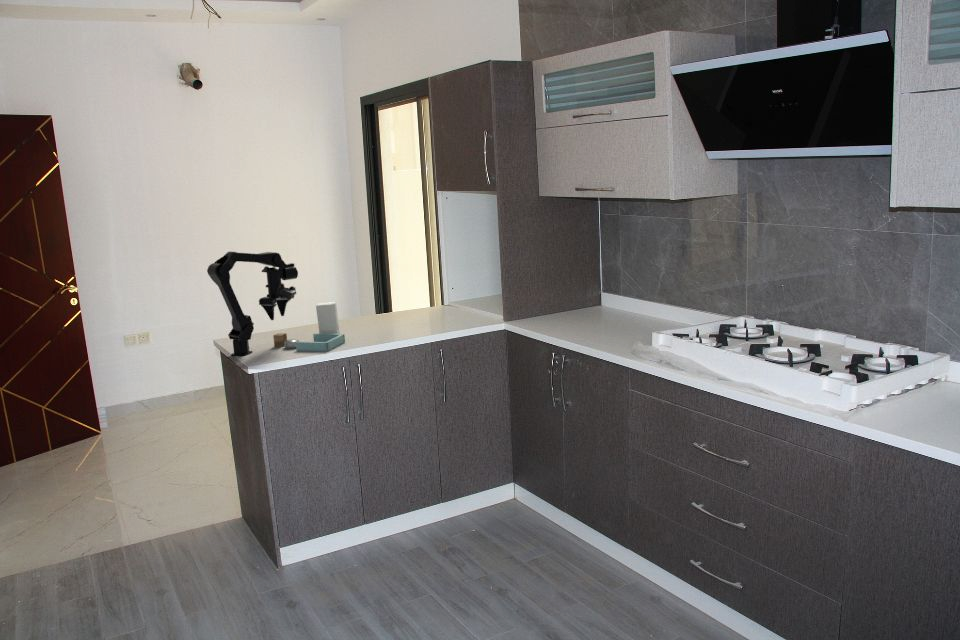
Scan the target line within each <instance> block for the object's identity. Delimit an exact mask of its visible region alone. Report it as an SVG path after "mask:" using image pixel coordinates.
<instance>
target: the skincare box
mask: <svg viewBox="0 0 960 640" xmlns="http://www.w3.org/2000/svg"><path fill="white" fill-rule="evenodd" d="M337 307H338V306H337V301H329V302H328V301H327V302H318V303H317V304H316V306H315V308H316V309H315V310H316V316H317V317H316V318H317V324H318V332H319V333H318V334H341V333H340V325H339V324H340V323H339V318H338V317H339V316H338V309H337Z"/></svg>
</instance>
